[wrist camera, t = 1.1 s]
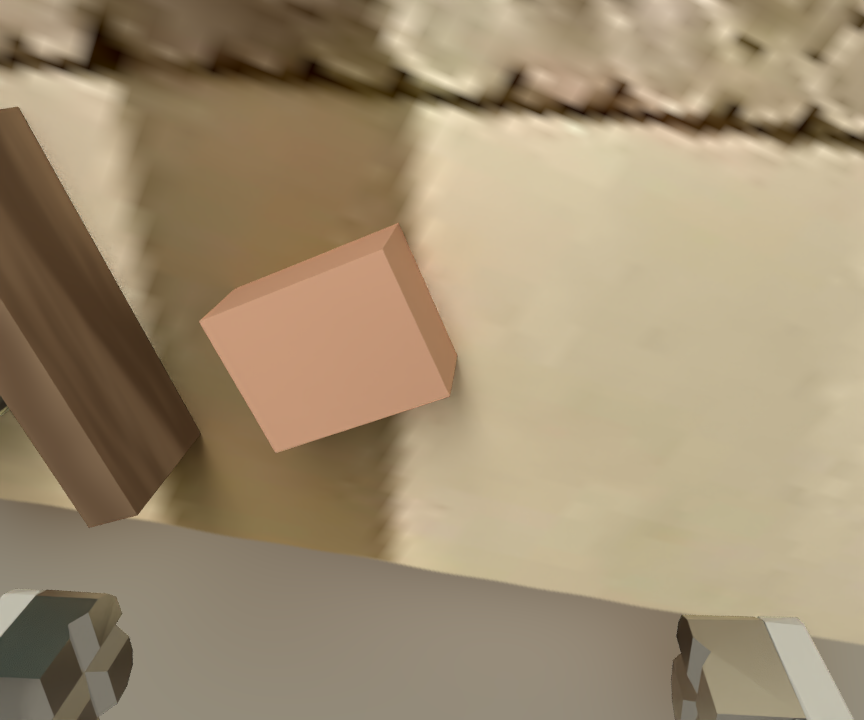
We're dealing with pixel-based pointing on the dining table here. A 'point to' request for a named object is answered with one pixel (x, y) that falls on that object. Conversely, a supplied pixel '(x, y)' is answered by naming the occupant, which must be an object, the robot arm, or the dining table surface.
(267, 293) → the terracotta block
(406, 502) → the dining table surface
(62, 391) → the walnut board
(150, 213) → the dining table surface
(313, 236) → the dining table surface
